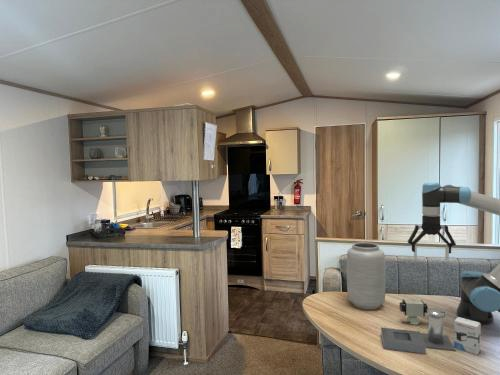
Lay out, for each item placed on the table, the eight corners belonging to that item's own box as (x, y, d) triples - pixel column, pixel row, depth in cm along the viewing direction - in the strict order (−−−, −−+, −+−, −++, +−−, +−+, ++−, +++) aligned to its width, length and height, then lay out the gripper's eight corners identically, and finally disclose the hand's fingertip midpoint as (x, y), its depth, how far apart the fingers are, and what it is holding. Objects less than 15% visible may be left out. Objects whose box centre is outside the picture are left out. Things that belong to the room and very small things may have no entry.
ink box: (453, 347, 139) (453, 320, 138) (456, 343, 142) (457, 316, 141) (477, 355, 132) (478, 326, 132) (480, 350, 136) (480, 322, 135)
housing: (419, 339, 146) (419, 331, 146) (425, 353, 134) (425, 345, 134) (381, 334, 151) (381, 327, 150) (383, 348, 139) (383, 340, 139)
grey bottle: (442, 337, 145) (442, 308, 145) (446, 345, 139) (446, 315, 138) (425, 335, 147) (425, 307, 147) (428, 343, 141) (428, 314, 140)
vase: (341, 299, 193) (340, 242, 191) (372, 295, 196) (372, 240, 194) (358, 313, 173) (357, 250, 171) (393, 309, 176) (393, 247, 175)
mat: (447, 336, 147) (447, 335, 147) (455, 351, 136) (455, 349, 136) (417, 333, 151) (417, 332, 151) (423, 347, 139) (423, 346, 139)
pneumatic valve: (428, 326, 157) (428, 301, 157) (401, 324, 160) (401, 300, 159) (424, 321, 163) (424, 297, 162) (399, 319, 165) (398, 296, 164)
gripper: (458, 214, 157) (458, 258, 158) (401, 213, 164) (401, 255, 165) (463, 216, 150) (463, 262, 151) (403, 215, 157) (403, 259, 158)
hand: (431, 259), depth 158 cm, fingers open, 13 cm apart
